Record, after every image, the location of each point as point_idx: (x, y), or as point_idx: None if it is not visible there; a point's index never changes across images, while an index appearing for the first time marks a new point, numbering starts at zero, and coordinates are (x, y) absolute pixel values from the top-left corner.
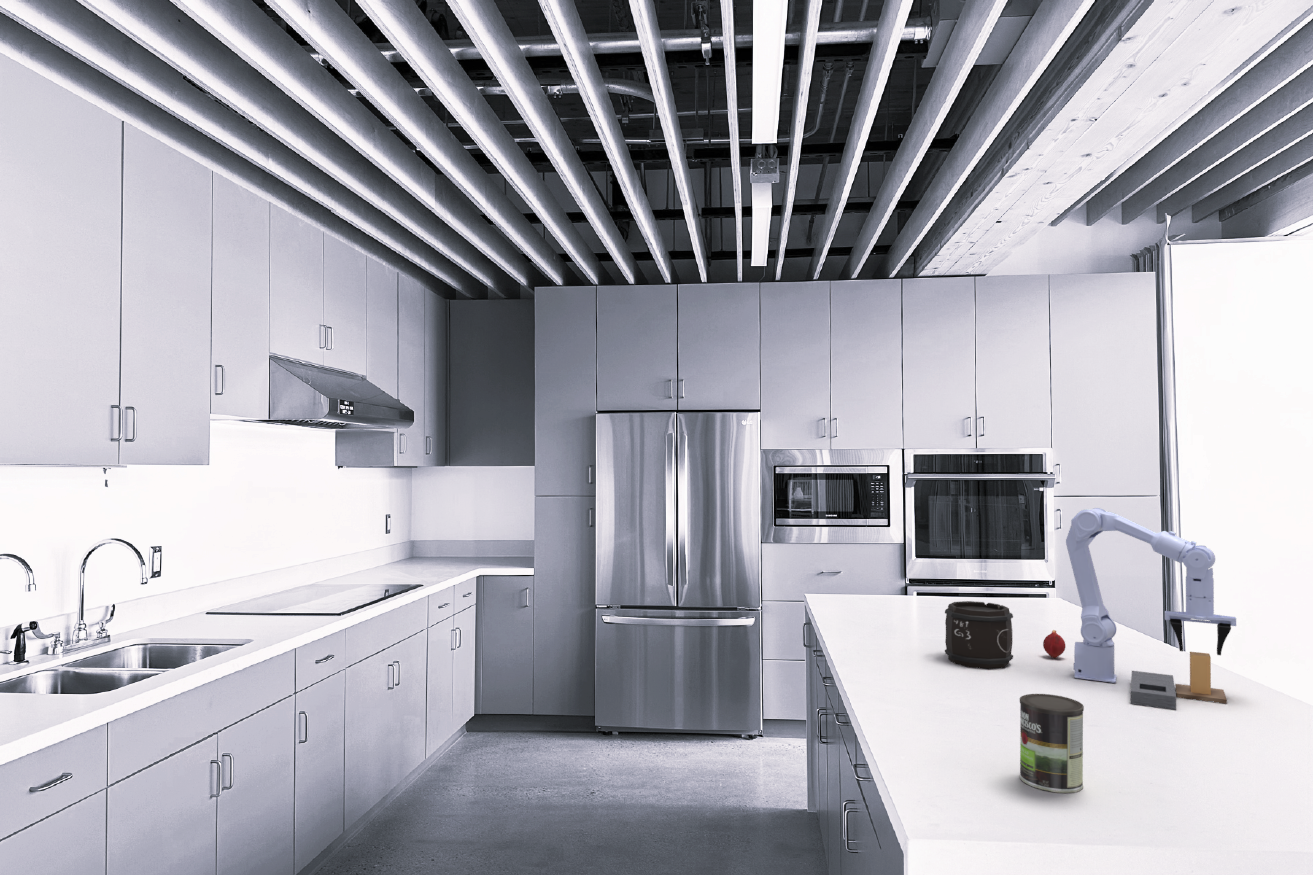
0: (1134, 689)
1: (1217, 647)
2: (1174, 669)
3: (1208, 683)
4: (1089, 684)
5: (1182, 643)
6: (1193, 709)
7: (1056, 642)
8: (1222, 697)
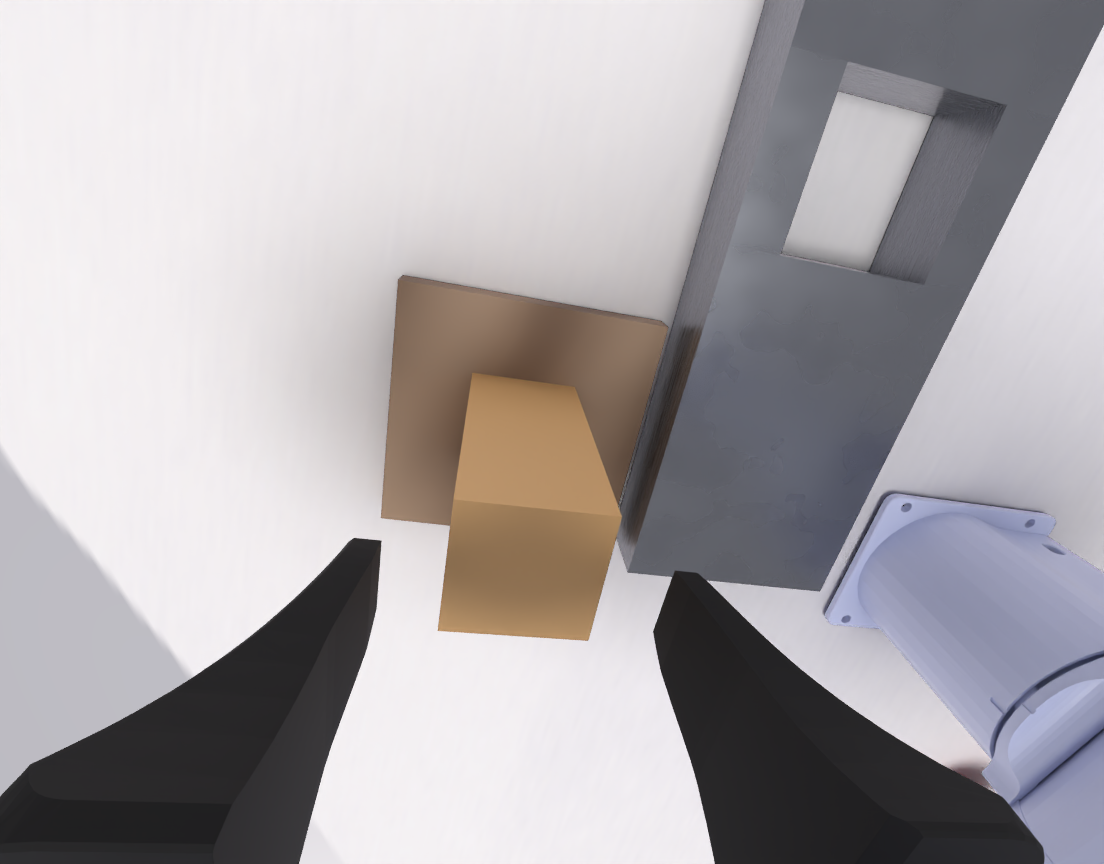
0: (1061, 58)
1: (359, 624)
2: (519, 809)
3: (482, 398)
4: (1031, 427)
5: (713, 616)
6: (651, 16)
7: None
8: (416, 326)
